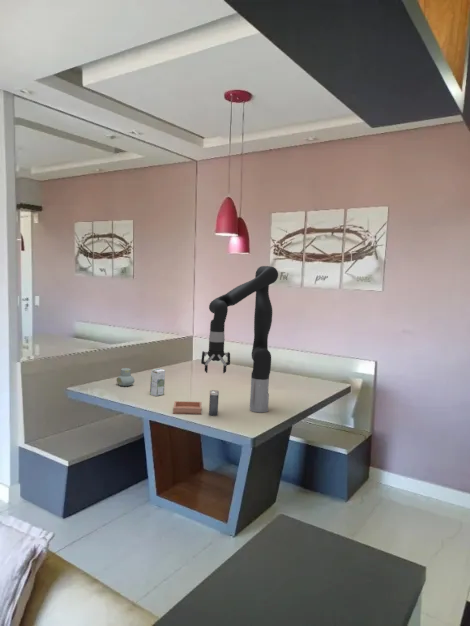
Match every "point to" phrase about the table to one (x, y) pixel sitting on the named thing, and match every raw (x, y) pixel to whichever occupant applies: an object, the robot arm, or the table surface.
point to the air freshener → (125, 377)
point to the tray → (187, 407)
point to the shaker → (213, 403)
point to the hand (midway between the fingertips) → (215, 372)
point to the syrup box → (157, 382)
